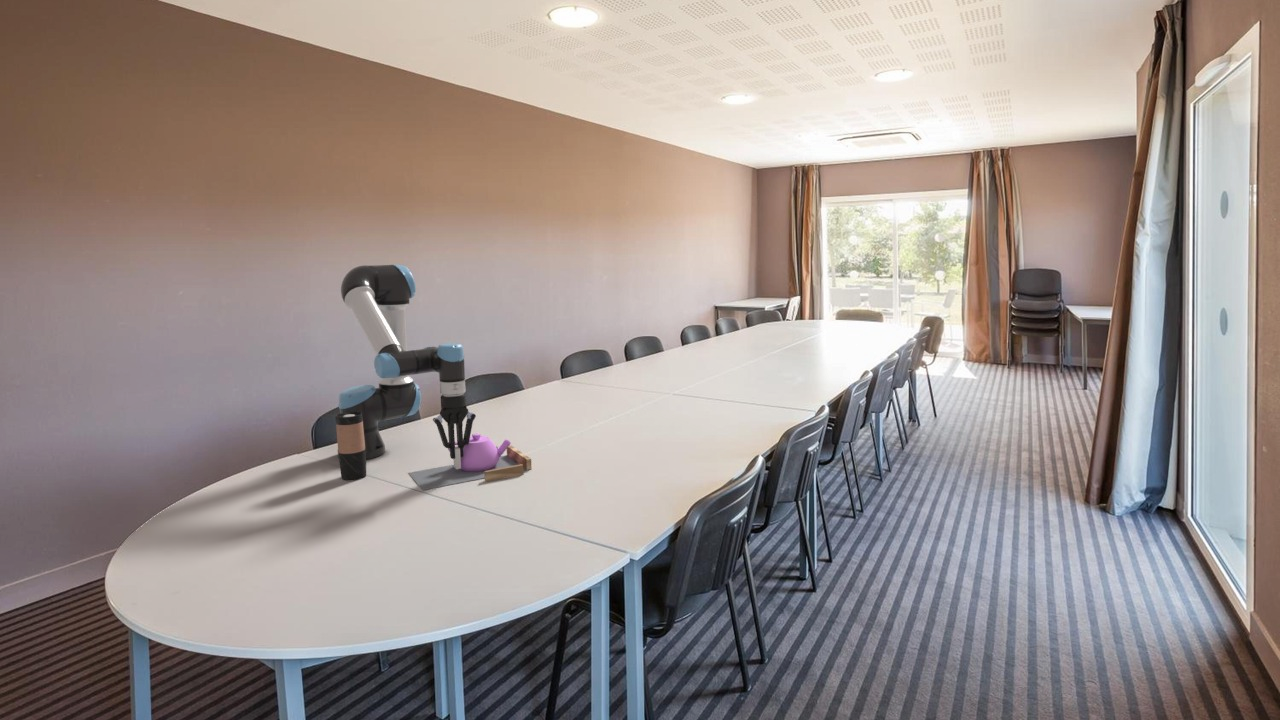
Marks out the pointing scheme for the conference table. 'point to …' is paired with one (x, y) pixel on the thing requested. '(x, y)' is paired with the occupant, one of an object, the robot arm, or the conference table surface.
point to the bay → (510, 470)
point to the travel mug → (351, 446)
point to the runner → (454, 474)
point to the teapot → (481, 453)
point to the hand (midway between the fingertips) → (457, 467)
